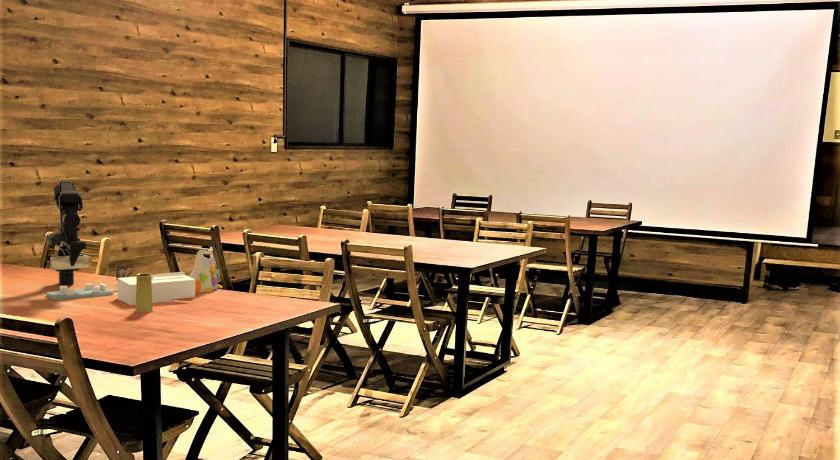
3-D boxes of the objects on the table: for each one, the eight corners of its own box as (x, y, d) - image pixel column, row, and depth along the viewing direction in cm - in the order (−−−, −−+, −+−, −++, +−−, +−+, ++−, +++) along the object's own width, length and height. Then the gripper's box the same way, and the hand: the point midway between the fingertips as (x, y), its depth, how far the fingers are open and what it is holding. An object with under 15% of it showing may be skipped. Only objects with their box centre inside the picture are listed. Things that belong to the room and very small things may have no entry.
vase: (147, 311, 315) (147, 272, 314) (155, 314, 311) (156, 275, 309) (131, 313, 311) (131, 274, 309) (139, 316, 307) (139, 277, 305)
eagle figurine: (137, 287, 355) (137, 266, 354) (131, 291, 348) (131, 269, 347) (118, 287, 355) (118, 265, 354) (112, 290, 348) (112, 268, 347)
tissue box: (117, 300, 333) (117, 272, 331) (180, 294, 348) (180, 267, 346) (130, 307, 321) (130, 278, 320) (195, 301, 336) (195, 273, 335)
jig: (46, 296, 333) (46, 287, 332) (102, 290, 348) (102, 281, 347) (55, 301, 326) (55, 291, 325) (113, 294, 340) (113, 286, 340)
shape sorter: (206, 297, 344) (207, 252, 341) (181, 295, 346) (182, 250, 343) (227, 287, 363) (228, 245, 361) (203, 286, 365) (204, 244, 363)
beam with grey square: (50, 268, 334) (50, 255, 333) (87, 265, 343) (87, 253, 342) (54, 270, 331) (53, 257, 330) (91, 267, 340) (91, 254, 339)
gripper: (40, 223, 337) (40, 263, 338) (56, 228, 322) (57, 270, 324) (69, 222, 344) (70, 261, 346) (86, 227, 330) (87, 268, 332)
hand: (70, 265), depth 337 cm, fingers closed on beam with grey square, 4 cm apart
